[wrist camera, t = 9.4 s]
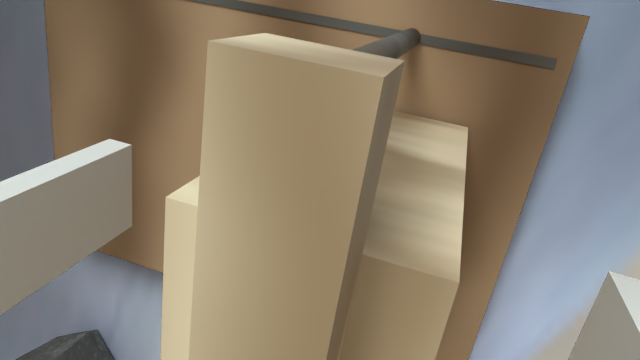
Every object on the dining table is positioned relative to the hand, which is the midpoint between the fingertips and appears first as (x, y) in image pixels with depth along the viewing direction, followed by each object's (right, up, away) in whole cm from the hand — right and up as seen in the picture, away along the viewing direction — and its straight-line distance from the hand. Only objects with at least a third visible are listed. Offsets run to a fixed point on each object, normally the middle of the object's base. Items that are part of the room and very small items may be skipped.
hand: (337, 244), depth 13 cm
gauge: (+2, +1, +7) cm, 7 cm away
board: (-2, +3, +8) cm, 9 cm away
